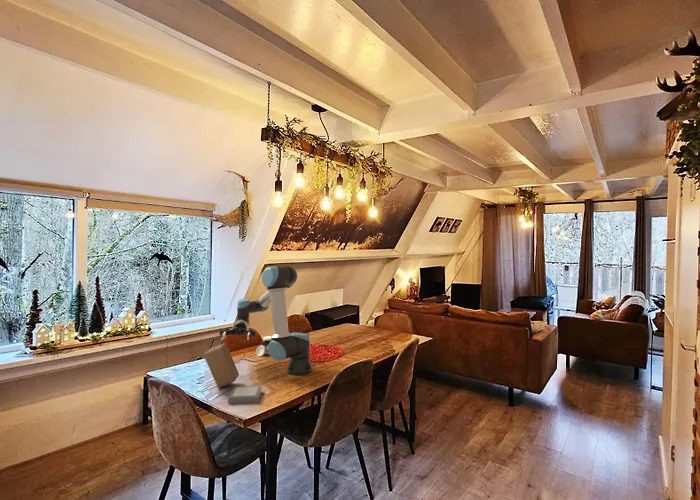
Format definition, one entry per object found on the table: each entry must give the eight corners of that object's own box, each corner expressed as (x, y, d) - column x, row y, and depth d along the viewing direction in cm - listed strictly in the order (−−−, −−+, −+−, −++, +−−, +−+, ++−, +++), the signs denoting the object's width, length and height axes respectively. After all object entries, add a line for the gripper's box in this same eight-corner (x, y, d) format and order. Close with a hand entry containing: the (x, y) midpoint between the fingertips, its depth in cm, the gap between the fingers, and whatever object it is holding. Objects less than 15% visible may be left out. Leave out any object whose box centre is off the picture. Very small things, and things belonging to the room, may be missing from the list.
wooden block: (240, 374, 211) (226, 342, 210) (234, 382, 201) (220, 347, 200) (223, 381, 211) (209, 348, 210) (217, 389, 201) (202, 354, 200)
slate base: (261, 391, 198) (261, 385, 198) (257, 402, 184) (258, 396, 184) (234, 392, 197) (234, 386, 197) (228, 403, 183) (228, 397, 183)
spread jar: (276, 352, 269) (277, 336, 269) (271, 357, 258) (272, 340, 258) (260, 351, 271) (260, 335, 270) (254, 356, 259) (255, 339, 259)
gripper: (260, 333, 237) (257, 344, 216) (219, 333, 233) (212, 343, 212) (261, 322, 237) (258, 331, 216) (220, 321, 233) (212, 330, 212)
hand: (235, 337), depth 214 cm, fingers open, 13 cm apart
